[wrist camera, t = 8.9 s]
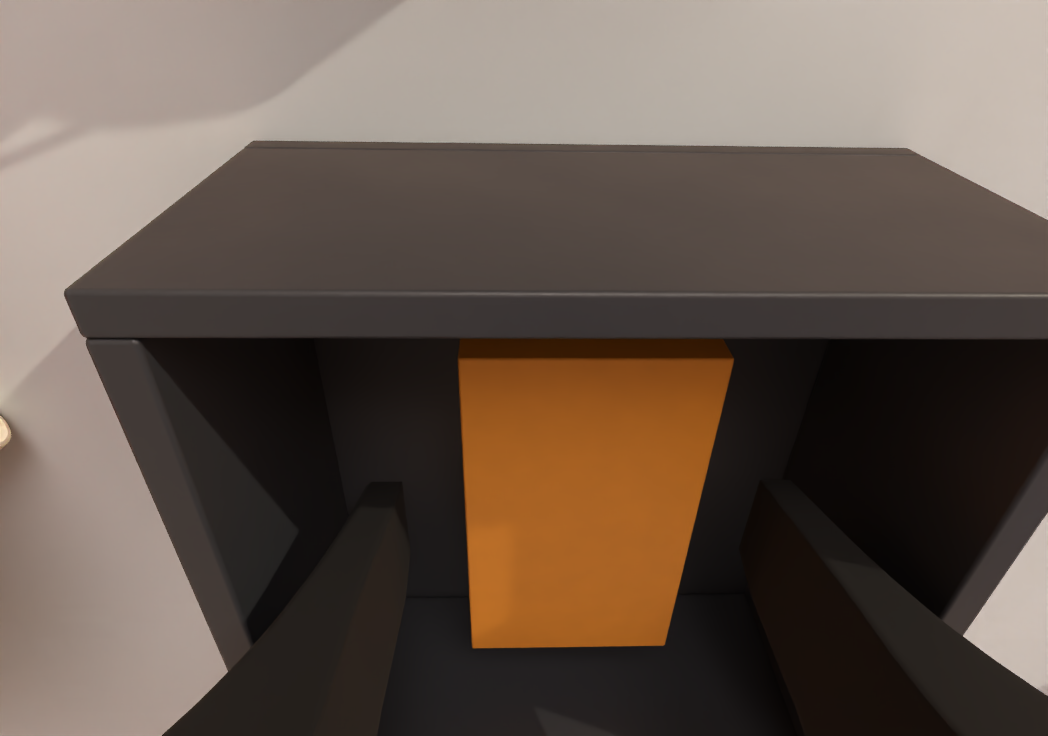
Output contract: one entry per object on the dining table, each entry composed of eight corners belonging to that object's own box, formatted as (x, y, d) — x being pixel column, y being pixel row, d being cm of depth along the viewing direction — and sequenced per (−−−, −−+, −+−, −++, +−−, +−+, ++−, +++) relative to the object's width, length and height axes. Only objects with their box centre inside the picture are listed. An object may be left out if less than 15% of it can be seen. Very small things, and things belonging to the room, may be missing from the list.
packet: (690, 277, 13) (735, 359, 10) (641, 544, 17) (665, 646, 15) (466, 276, 13) (457, 359, 10) (476, 546, 17) (471, 649, 15)
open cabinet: (753, 590, 19) (840, 816, 14) (350, 595, 19) (294, 829, 14) (908, 147, 12) (1201, 295, 7) (252, 139, 11) (57, 290, 6)
